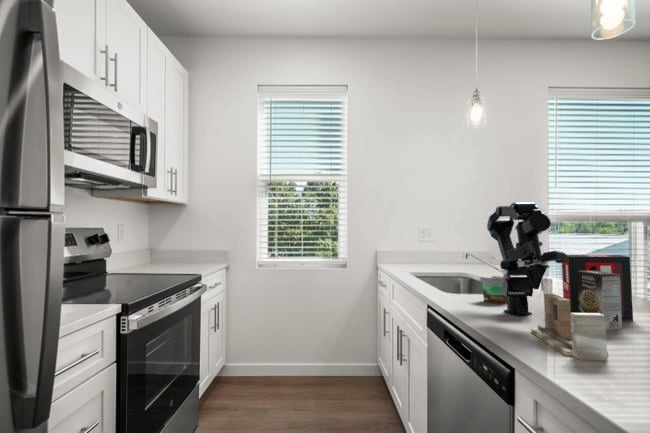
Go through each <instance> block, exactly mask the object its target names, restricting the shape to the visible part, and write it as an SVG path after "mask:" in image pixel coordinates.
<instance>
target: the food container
mask: <svg viewBox="0 0 650 433" xmlns="http://www.w3.org/2000/svg"><path fill="white" fill-rule="evenodd" d="M504 278H505V277H504ZM504 278H499V277H484V276H480V278H479V282H480V283H481V288H482V289H481V290H482V295H483V296H482V297H483V301H484V302H486V303H488V302H489V303H490V304H498V305H499V304H501V305H502V304H507V296H505V295H503V294H502V290H501V288H502V285H503V282H504ZM508 292H509V291H508Z"/></svg>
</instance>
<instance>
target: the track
mask: <svg viewBox="0 0 650 433" xmlns="http://www.w3.org/2000/svg"><path fill="white" fill-rule="evenodd" d="M571 331H572V339H563V338H562V337H560V336H558V335H557V334H555V333H553V332H552V331H550V330H548V329H547V328H545V326H543V325H542V324H537V328H530V332H531V333H532V334H534V335H535V336H537V337H538V338H539V339H541V340H542V341H544V342H545V343H547V344H548V345H550V346H551V347H552V348H554V349H555V350H557V352H560V353H561V354H563V355H564V356H568V357H574V358H575V359H576V360H578V359H580V360H582V361H584V360H586V361H608V358H609V352H608V346H607V345H608V344H607V342H608V341H607V330H606V320H605V315H603V314H600V313H571ZM580 360H579V361H580Z"/></svg>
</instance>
